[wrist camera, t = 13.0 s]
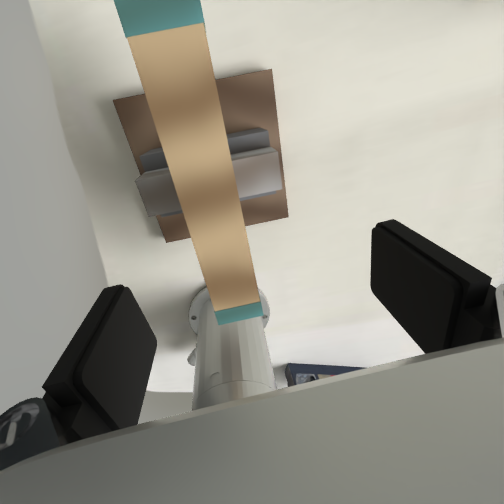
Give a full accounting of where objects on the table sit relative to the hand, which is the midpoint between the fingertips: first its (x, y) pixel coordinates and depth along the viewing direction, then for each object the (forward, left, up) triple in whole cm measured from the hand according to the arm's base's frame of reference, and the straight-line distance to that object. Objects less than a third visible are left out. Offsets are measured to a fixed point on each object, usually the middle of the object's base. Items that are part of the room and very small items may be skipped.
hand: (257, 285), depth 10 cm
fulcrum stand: (-1, +2, -25) cm, 25 cm away
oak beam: (-1, +2, -15) cm, 15 cm away
